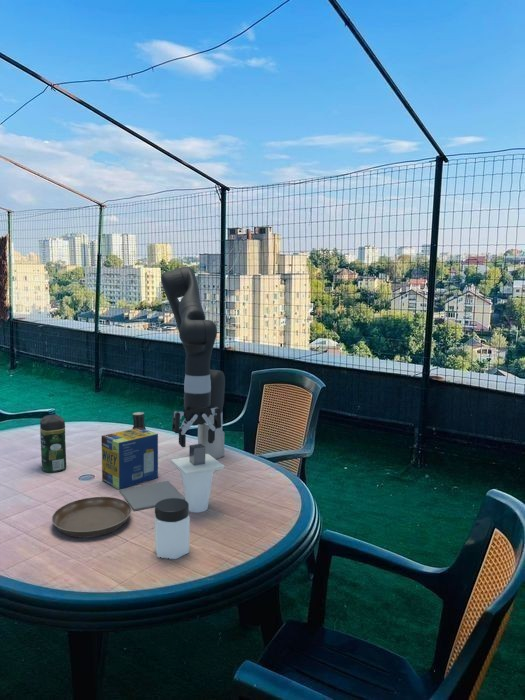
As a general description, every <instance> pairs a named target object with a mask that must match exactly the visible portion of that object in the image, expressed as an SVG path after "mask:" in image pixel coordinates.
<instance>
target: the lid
mask: <svg viewBox="0 0 525 700" xmlns="http://www.w3.org/2000/svg"><path fill="white" fill-rule="evenodd" d="M188 448H189V449H188V450H189V456H184V457H179V458H171V459H170V463H171V464H172V465H173V466H174V467H175V468H176V469H178V470H179V471H180V473H181V472H182V473H183V474H184V475H185V476H186V475H192V474H198V473H204V472H209V471H214V472H215V471H221V470H225V469H226V465H224V464H223V463H221V462H220V461H218V459H214V458H213V457H212V456H210V455H209V454H205V446H203V445H202V444H198V443H196V444H190V445H189V447H188Z"/></svg>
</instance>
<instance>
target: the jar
mask: <svg viewBox="0 0 525 700" xmlns="http://www.w3.org/2000/svg"><path fill="white" fill-rule="evenodd" d="M189 513H190V511H189V504H188V502H187V501H185V500H183V499H179V498H168V499H164V500H161V501H159V502H158V503H156V505H155V507H154V550H155V554H156V556H157V557H156V558H160V557H161V558H162V559H168V558H169V560H176V559H179V558H181V557H183V556H185V555H186V554H189V553H190V533H191V532H190V522H191V521H190V514H189ZM161 558H160V559H161Z"/></svg>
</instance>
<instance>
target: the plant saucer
mask: <svg viewBox="0 0 525 700" xmlns="http://www.w3.org/2000/svg"><path fill="white" fill-rule="evenodd" d="M132 510H133V509H132V508H131V506H130V505H129V504H128V502H127V501H126V500H123V499H120V498H116V497H111V496H95V497H94V496H93V497H85V498H81V499H78V500H74V501H71V502H69V503H67V504H64V505H63V506H61V507H59V508H58V509H57V510H55V511H54V513H53V514H52V517H51V521H52V523H53V525H54V526H55V528H56V529H57V530H59V531H60V532H62V533H63V534H64V535H66V536H70V537H74V538H94V537H101V536H104V535H107V534H109V533H112V532H114V531H115V530H117V529H119V528H120V527H122V526H123V524H124V523H125V522H126V521H127V520H128V519H129V518H130V516H131V513H132Z"/></svg>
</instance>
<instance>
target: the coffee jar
mask: <svg viewBox="0 0 525 700" xmlns="http://www.w3.org/2000/svg"><path fill="white" fill-rule="evenodd" d="M39 423H40V424H39V427H40V429H39V431H40V432H39V436H40V452H41V453H40V454H41V468H42V470H43V471H44V472H46V473H58V472H61V471H64V470H65V469H66V468H67V454H66V453H67V452H66V451H67V445H66V421H65V419H64V418H63V417H62V416H60V415H58V414H49V415H44V416H43V417H42V418H41V419H40V421H39Z"/></svg>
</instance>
